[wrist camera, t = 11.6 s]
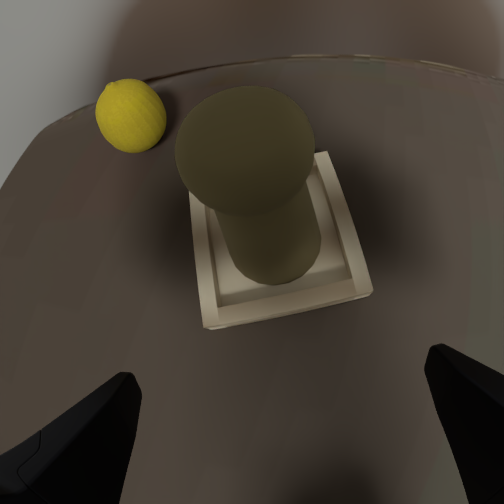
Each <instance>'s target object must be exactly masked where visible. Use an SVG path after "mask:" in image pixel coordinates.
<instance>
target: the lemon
mask: <svg viewBox="0 0 504 504" xmlns="http://www.w3.org/2000/svg"><path fill="white" fill-rule="evenodd" d="M96 119H97V122H98V125H99V128H100V130H101V132H102V134H103V135H104V137H105V138H106V139H107V140H108V141H109V142H110V143H111V144H112V145H113V146H114V147H116V148H117V149H119V150H121V151H124V152H128V153H139V152H143V151H146V150H148V149H150V148H152V147H153V146H154V145H155V144H157V143H158V141H159V140H160V139H161V137H162V135H163V134H164V131H165V128H166V111H165V108H164V106H163V103H162V101H161V99H160V98H159V96H158V95H157V94H156V92H155V91H154V90H153V89H152V88H150V87H149V86H148V85H147V84H145V83H144V82H142V81H139V80H134V79H123V80H119V81H117V82H111V83H109V84H108V85H107V86H106V88H105V90H104V91H103V92H102V94H101V95H100V97H99V99H98V102H97V105H96Z"/></svg>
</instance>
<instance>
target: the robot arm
mask: <svg viewBox="0 0 504 504" xmlns="http://www.w3.org/2000/svg"><path fill="white" fill-rule="evenodd" d="M424 371H425V375H426V378H427V381H428V384H429V388H430V391H431V394H432V398H433V401H434V405H435V408H436V411H437V414H438V416H439V419H440V421H441V424H442V426H443V429H444V431H445V434H446V437H447V439H448V442H449V444H450V447H451V450H452V453H453V455H454V458H455V461H456V464H457V467H458V470H459V473H460V476H461V479H462V482H463V485H464V489H465V492H466V495H467V499H468V502H469V504H504V375H503V374H501V373H499V372H497V371H495V370H493V369H491V368H489V367H487V366H486V365H484V364H482V363H480V362H478V361H476V360H474V359H472V358H470V357H468V356H466V355H464V354H462V353H461V352H459V351H457V350H455V349H453V348H451V347H449V346H447V345H445V344H442V343H441V344H437V345H433V346H431V347H430V349H429V352H428V356H427V359H426V363H425V367H424ZM141 400H142V392H141V389H140V387H139V385H138V383H137V381H136V378H135V376H134V375H133V374H132V373H131V372H119V373H118V374H116V375H115V376H114V377H112V378H111V379H109V380H108V381H107V382H105V383H104V384H103V385H101V386H100V387H99V388H97V389H96V390H95V391H93V392H92V393H90V394H89V395H88V396H86V397H85V398H84V399H82V400H81V401H80V402H78V403H77V404H75V405H74V406H73V407H71V408H70V409H69V410H67V411H66V412H64V413H63V414H62V415H60V416H59V417H58V418H56V419H55V420H53V421H52V422H51V423H49V424H48V425H46V426H45V427H44V428H42V431H41V430H39V431H38V432H37V433H35V434H34V435H32V436H31V437H29V438H28V439H26V440H25V441H23V442H22V443H20V444H19V445H17V446H15V447H14V448H12V449H10V450H9V451H7V452H5V453H3V454H1V455H0V504H119V501H120V497H121V493H122V489H123V485H124V480H125V476H126V472H127V468H128V464H129V461H130V457H131V453H132V449H133V445H134V442H135V437H136V432H137V425H138V419H139V412H140V406H141Z"/></svg>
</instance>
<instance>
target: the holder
mask: <svg viewBox="0 0 504 504" xmlns="http://www.w3.org/2000/svg"><path fill="white" fill-rule="evenodd" d="M306 182H307V186H308V189H309V193H310V196H311V200H312V203H313V207H314V210H315V214H316V217H317V221H318V225H319V229H320V233H321V246H320V253H319V255H318V257H317V259H316V261H315V263H314V265H313V266H312V267H311V268H310V269H309V270H308V271H307V272H306V273H305V274H304V275H303V276H302V277H300V278H298V279H296V280H294V281H292V282H290V283H286V284H280V285H274V286H273V285H266V284H259V283H257V282H255V281H253V280H251V279H249V278H247V277H245V276H244V275H243V274H242V273H241V272H240V271H239V270H238V269H237V268H236V267H235V265H234V263H233V260H232V258H231V256H230V254H229V251H228V248H227V245H226V243H225V240H224V237H223V234H222V231H221V228H220V226H219V223H218V220H217V217H216V214H215V211H214V209H211V208H209V207H207V206H206V205H204V204H202V203H201V202H200V201H199V200H198V199H197V198H196V197H195V196H194V195H193V194H192V193H191V192H190V191H189V199H190V211H191V223H192V234H193V244H194V254H195V263H196V272H197V281H198V289H199V297H200V305H201V313H202V320H203V327H204V328H207V329H211V330H214V329H220V328H225V327H231V326H236V325H242V324H247V323H252V322H258V321H263V320H268V319H273V318H277V317H282V316H287V315H292V314H296V313H301V312H305V311H310V310H314V309H318V308H323V307H327V306H331V305H335V304H339V303H343V302H347V301H351V300H355V299H359V298H363V297H367V296H369V295H370V294H371V293H372V292H373V287H372V283H371V280H370V276H369V273H368V269H367V266H366V262H365V259H364V255H363V252H362V249H361V245H360V242H359V239H358V236H357V233H356V230H355V226H354V223H353V220H352V217H351V214H350V211H349V209H348V206H347V203H346V200H345V197H344V194H343V192H342V189H341V186H340V183H339V181H338V178H337V175H336V173H335V170H334V167H333V165H332V162H331V160H330V157H329V155H328V152H327V151H324V152H319V153H314V162H313V167H312V169H311V172H310V174H309V176H308V178H307V180H306Z"/></svg>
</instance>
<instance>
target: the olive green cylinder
mask: <svg viewBox="0 0 504 504" xmlns="http://www.w3.org/2000/svg"><path fill="white" fill-rule="evenodd" d="M314 153H315V137H314V134H313V131H312V128H311V125H310V123H309V120H308V118H307V116H306V114H305V112H304V111H303V110H302V109H301V108H300V107H299V106H298V105H297V104H296V103H295V102H294V101H293V100H292V99H291V98H290V97H288V96H287V95H285V94H283V93H281V92H279V91H277V90H275V89H272V88H267V87H262V86H239V87H235V88H230V89H226V90H223V91H220V92H218V93H216V94H214V95H212V96H209V97H207V98H206V99H205V100H203V101H202V102H201V103H199V104H198V105H196V106H195V107H194V108H193V109H192V110H191V111H190V113H189V114H188V115H187V116H186V117H185V119H184V120H183V122H182V124H181V126H180V129H179V131H178V133H177V138H176V142H175V161H176V166H177V169H178V171H179V174H180V176H181V179H182V181H183V183H184V185H185V186H186V187H187V189H188V190H189V191H190V192H191V193H192V194H193V195H194V196H195V197H196V198H197V199H198V200H199V201H200V202H201V203H202V204H204V205H206V206H207V207H209V208H211V209H214V211H215V214H216V217H217V220H218V223H219V226H220V228H221V231H222V234H223V237H224V240H225V243H226V245H227V248H228V251H229V254H230V256H231V258H232V260H233V263H234V265H235V267H236V268H237V269H238V270H239V271H240V272H241V273H242V274H243V275H244V276H245V277H247V278H249V279H251V280H253V281H255V282H257V283H259V284H266V285H273V286H274V285H280V284H286V283H290V282H292V281H294V280H296V279H298V278H300V277H302V276H303V275H304V274H305V273H306V272H307V271H308V270H309V269H310V268H311V267H312V266H313V265H314V263H315V261H316V259H317V257H318V255H319V253H320V246H321V233H320V229H319V225H318V221H317V217H316V214H315V210H314V207H313V203H312V200H311V196H310V193H309V189H308V186H307V182H306V180H307V178H308V176H309V174H310V172H311V169H312V167H313V162H314Z"/></svg>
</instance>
